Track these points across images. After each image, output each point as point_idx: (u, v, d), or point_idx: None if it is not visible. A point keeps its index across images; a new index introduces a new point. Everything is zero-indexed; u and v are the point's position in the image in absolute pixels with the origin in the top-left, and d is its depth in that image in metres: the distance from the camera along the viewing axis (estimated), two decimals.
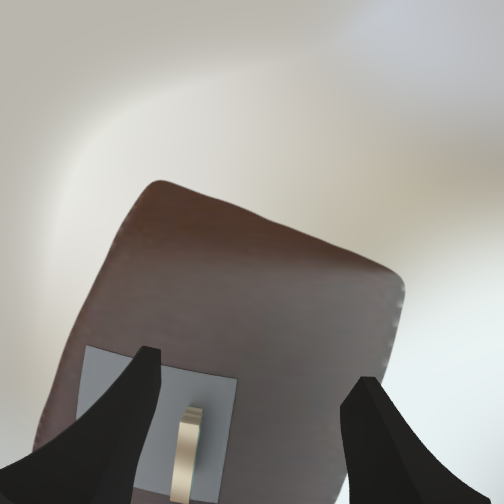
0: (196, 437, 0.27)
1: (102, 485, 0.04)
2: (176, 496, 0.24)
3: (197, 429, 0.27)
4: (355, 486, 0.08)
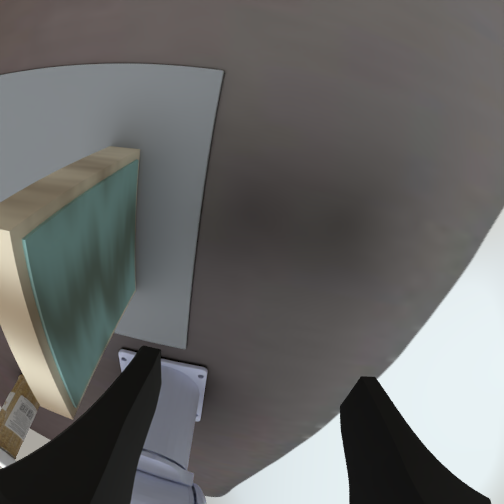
0: (14, 271, 0.07)
1: (102, 485, 0.04)
2: (45, 402, 0.11)
3: (8, 244, 0.07)
4: (355, 486, 0.08)
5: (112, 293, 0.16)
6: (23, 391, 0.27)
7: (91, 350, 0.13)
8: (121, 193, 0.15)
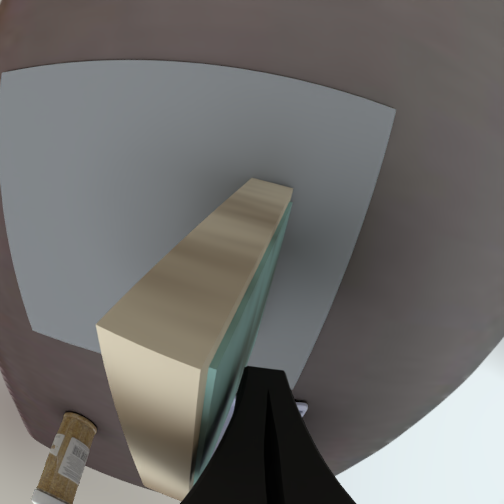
0: (189, 410, 0.05)
1: None
2: (156, 487, 0.09)
3: (190, 382, 0.05)
4: None
5: (245, 360, 0.14)
6: (73, 433, 0.25)
7: (219, 430, 0.11)
8: (278, 247, 0.12)
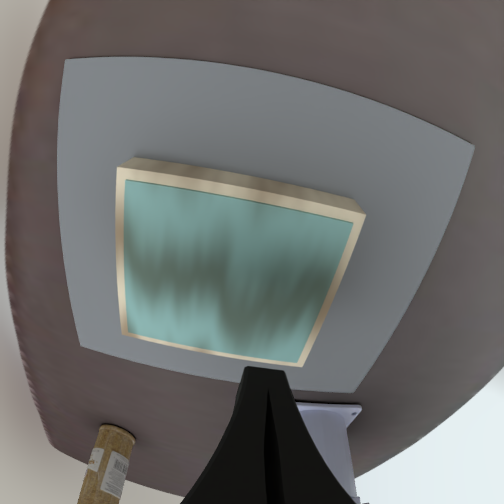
0: (116, 195, 0.13)
1: None
2: None
3: (117, 176, 0.12)
4: None
5: (240, 323, 0.16)
6: (113, 446, 0.25)
7: (175, 327, 0.16)
8: (296, 239, 0.13)
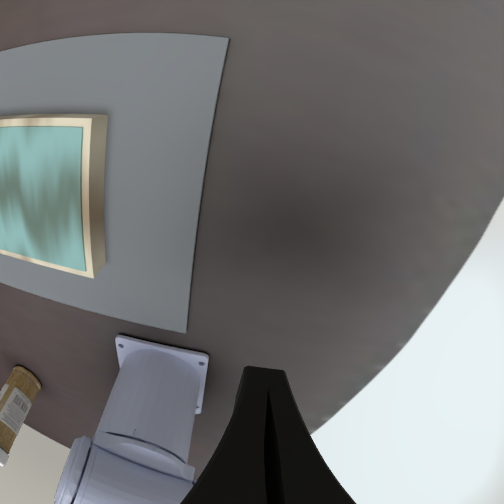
0: None
1: None
2: None
3: None
4: None
5: (36, 227, 0.16)
6: (17, 383, 0.26)
7: (6, 235, 0.16)
8: (49, 148, 0.14)
